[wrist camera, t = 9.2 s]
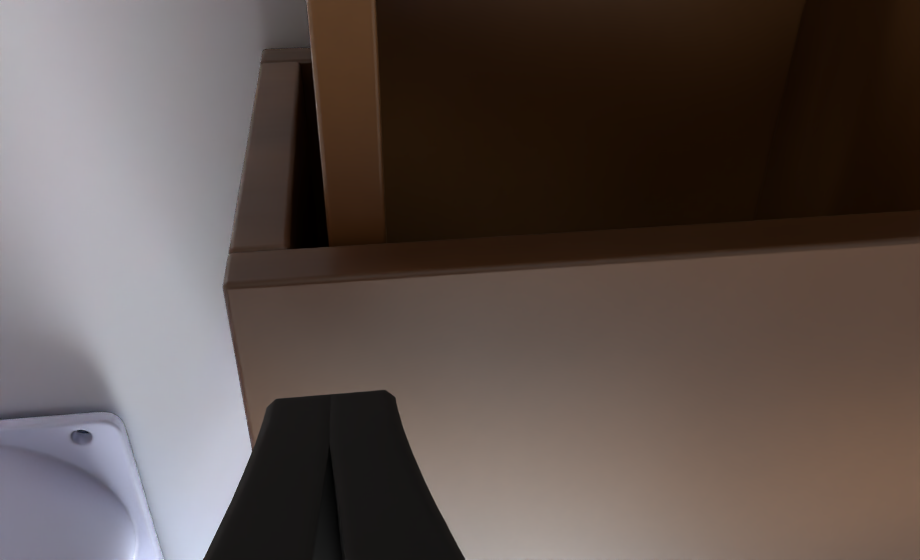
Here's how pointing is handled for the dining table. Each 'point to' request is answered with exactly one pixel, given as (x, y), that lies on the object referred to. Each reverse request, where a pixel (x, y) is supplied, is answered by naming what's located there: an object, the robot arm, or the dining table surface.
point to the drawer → (610, 113)
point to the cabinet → (599, 365)
